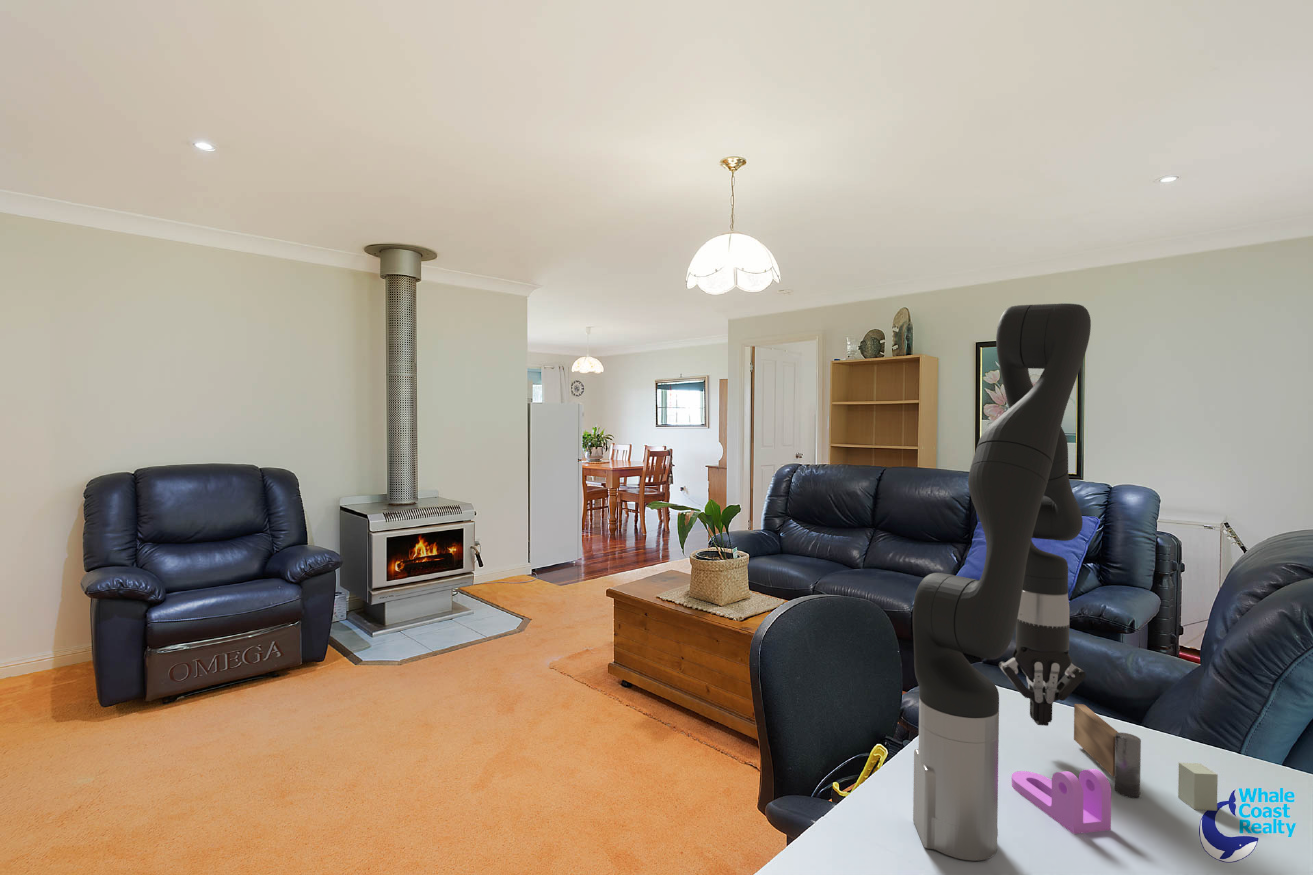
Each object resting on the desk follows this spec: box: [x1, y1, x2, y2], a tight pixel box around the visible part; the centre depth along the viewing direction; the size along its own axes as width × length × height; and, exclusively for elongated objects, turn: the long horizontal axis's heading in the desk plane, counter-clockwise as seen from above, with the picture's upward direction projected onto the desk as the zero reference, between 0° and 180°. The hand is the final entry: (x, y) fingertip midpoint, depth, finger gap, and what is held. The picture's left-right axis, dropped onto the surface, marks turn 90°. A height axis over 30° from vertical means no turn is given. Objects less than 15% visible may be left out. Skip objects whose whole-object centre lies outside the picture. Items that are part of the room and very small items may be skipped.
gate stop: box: [1177, 762, 1219, 811], centre depth 91 cm, size 3×3×5 cm
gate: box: [1073, 703, 1120, 778], centre depth 102 cm, size 12×2×6 cm, turn 171°
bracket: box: [1011, 768, 1112, 835], centre depth 90 cm, size 13×6×7 cm, turn 10°
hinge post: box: [1114, 732, 1142, 799], centre depth 93 cm, size 3×3×8 cm
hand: (1040, 723), depth 105 cm, fingers closed
